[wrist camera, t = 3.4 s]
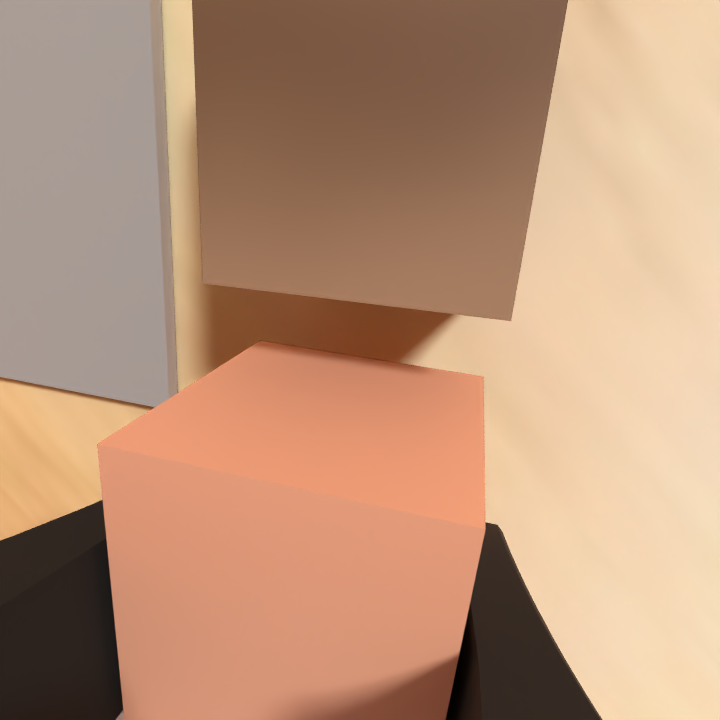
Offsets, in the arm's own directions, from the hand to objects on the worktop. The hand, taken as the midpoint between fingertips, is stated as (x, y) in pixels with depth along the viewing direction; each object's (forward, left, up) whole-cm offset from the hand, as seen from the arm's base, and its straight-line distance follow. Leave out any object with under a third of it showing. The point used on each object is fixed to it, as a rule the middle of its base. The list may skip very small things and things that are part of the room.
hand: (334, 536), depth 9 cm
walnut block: (+8, 0, -4) cm, 8 cm away
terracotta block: (0, 0, -2) cm, 2 cm away
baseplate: (+5, +10, -4) cm, 12 cm away
